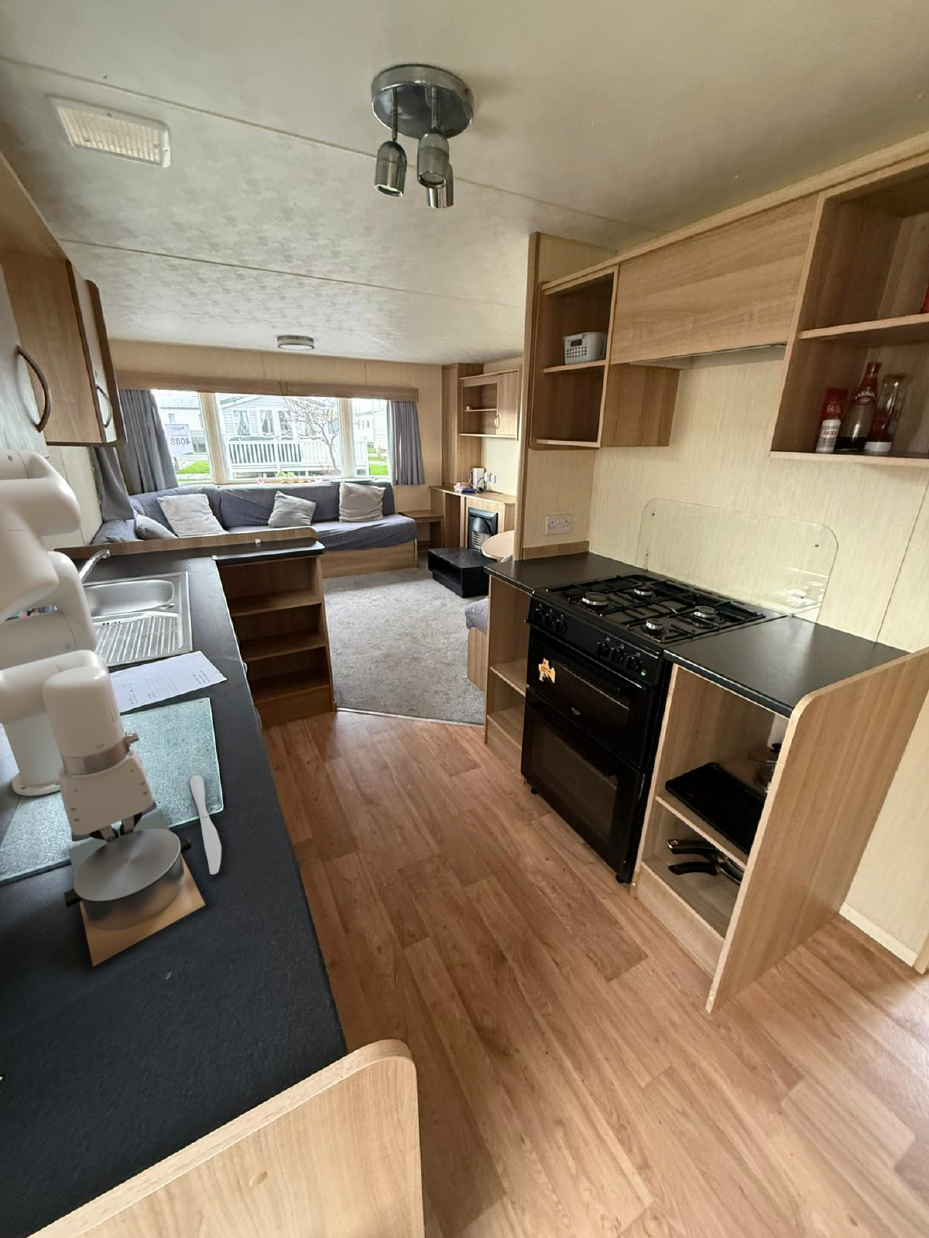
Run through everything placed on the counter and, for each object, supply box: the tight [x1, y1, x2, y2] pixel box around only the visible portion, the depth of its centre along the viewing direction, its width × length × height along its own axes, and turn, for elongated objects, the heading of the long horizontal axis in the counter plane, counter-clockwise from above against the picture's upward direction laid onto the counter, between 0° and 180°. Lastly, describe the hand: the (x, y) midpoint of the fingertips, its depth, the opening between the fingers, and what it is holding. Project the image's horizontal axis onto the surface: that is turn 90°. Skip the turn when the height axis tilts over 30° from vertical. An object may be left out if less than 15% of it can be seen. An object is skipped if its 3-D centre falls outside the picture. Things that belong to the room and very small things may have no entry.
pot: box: [63, 829, 192, 931], centre depth 71 cm, size 13×15×6 cm
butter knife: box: [189, 774, 222, 876], centre depth 86 cm, size 1×27×3 cm
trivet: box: [79, 853, 206, 967], centre depth 70 cm, size 12×13×1 cm
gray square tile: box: [68, 810, 171, 878], centre depth 79 cm, size 12×13×1 cm
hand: (125, 853), depth 77 cm, fingers closed
